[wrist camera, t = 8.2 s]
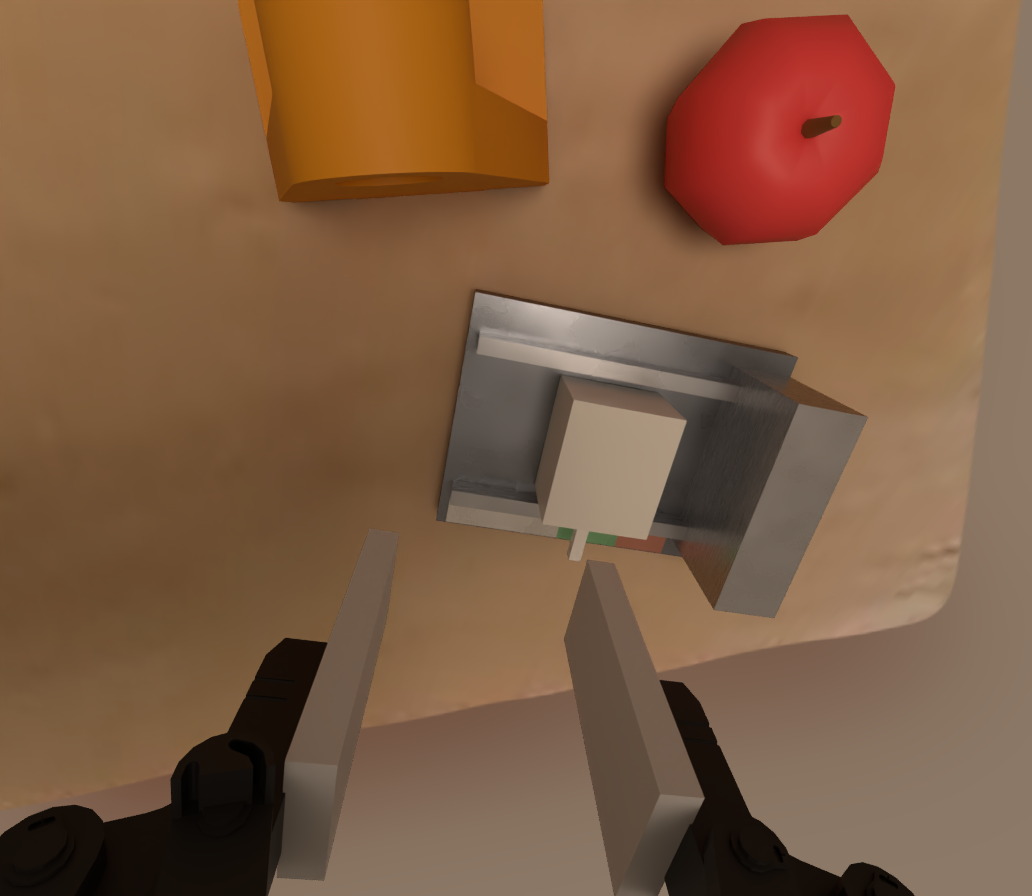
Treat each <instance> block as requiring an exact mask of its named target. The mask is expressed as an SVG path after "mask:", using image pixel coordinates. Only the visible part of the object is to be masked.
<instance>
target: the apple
mask: <svg viewBox="0 0 1032 896" xmlns="http://www.w3.org/2000/svg"><path fill="white" fill-rule="evenodd" d="M894 91H895V84H894V82H893V80H892V79H891V77H890V76H889V74H888V73H887V71H886V70H885V68H884V67H883V65H882V64H881V63H880V61H879V60H878V58H877V57H876V55H875V54H874V52H873V51H872V49H871V48H870V46H869V45H868V43H867V42H866V41H865V39H864V38H863V36H862V35H861V33H860V32H859V30H858V29H857V27H856V26H855V24H854V23H853V22H852V20H851V19H850V17H849V16H848V15H829V16H808V17H788V18H767V19H761V20H756V21H752V22H747V23H743V24H741V25H740V26H739V27H738V29H737V30H736V31H735V32H734V33H733V34H732V36H731V37H730V38H729V39H728V40H727V41H726V43H725V44H724V45H723V46H722V47H721V48H720V50H719V51H718V52H717V53H716V54H715V55H714V57H713V58H712V59H711V60H710V61H709V62H708V64H707V65H706V66H705V67H704V68H703V69H702V71H701V72H700V73H699V74H698V75H697V76H696V78H695V79H694V80H693V81H692V82H691V83H690V85H689V86H688V87H687V88H686V89H685V90H684V92H683V93H682V94H681V95H680V96H679V97H678V99H677V101H676V103H675V105H674V106H673V108H672V110H671V112H670V114H669V116H668V118H667V138H666V161H665V185H664V187H665V188H666V189H667V190H668V191H669V193H670V194H671V195H672V196H673V197H674V198H675V199H676V200H677V201H678V203H679V204H680V205H681V206H682V207H683V208H684V209H685V210H686V211H687V213H688V214H689V215H690V216H691V217H692V218H693V219H694V220H695V221H696V223H697V224H698V225H699V226H700V227H701V228H702V229H703V230H704V231H705V232H707V233H708V234H709V235H710V236H712V237H713V238H714V239H716V240H717V241H718V242H720V243H721V244H722V245H734V244H750V243H766V242H782V241H797V240H800V239H803V238H806V237H809V236H812V235H815V234H817V233H818V232H819V231H820V230H821V229H822V228H823V227H824V226H825V225H826V224H827V223H828V222H829V221H830V220H831V219H832V218H833V217H834V216H835V215H836V214H837V213H838V212H839V211H840V210H841V209H842V208H843V207H844V206H845V205H846V204H847V203H848V202H849V201H850V200H851V199H852V198H853V197H854V196H855V195H856V194H857V193H858V192H859V191H860V190H861V189H862V188H863V187H864V186H865V185H866V184H867V183H868V182H869V181H870V180H871V179H872V178H873V177H874V176H875V175H876V174H877V173H878V171H879V168H880V165H881V162H882V158H883V153H884V147H885V141H886V136H887V130H888V124H889V119H890V113H891V107H892V102H893V96H894Z"/></svg>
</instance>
